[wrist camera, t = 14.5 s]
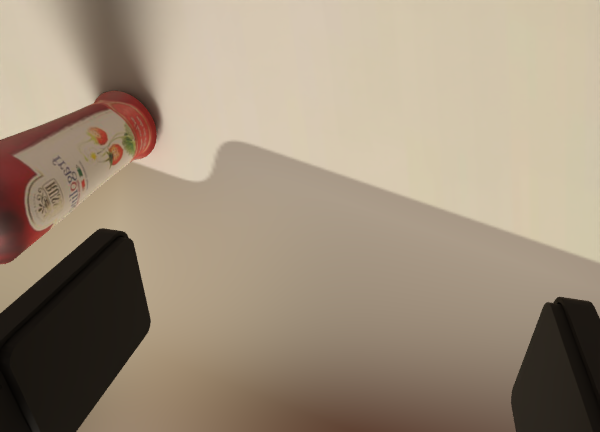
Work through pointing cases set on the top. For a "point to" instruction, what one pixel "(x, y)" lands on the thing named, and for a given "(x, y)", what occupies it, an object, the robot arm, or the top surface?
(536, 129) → the top surface
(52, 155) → the liquor
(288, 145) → the top surface
